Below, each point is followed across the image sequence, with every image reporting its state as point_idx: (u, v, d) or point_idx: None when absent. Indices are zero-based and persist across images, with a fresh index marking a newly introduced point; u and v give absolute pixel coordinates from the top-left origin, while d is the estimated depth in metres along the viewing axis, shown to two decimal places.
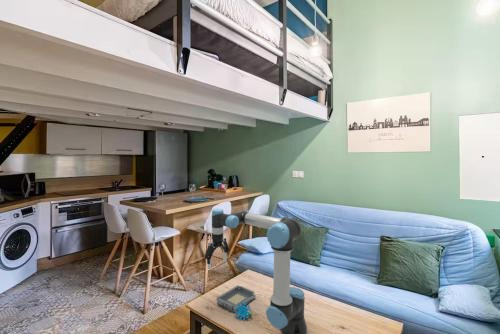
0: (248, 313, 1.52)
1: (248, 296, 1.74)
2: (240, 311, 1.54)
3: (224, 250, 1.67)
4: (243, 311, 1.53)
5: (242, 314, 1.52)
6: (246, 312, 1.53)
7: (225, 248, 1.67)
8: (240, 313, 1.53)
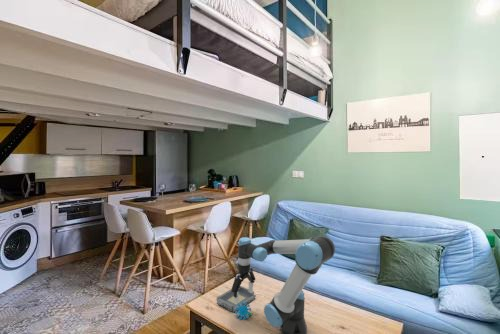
0: (248, 313, 1.52)
1: (248, 296, 1.74)
2: (240, 311, 1.54)
3: (250, 280, 1.58)
4: (243, 311, 1.53)
5: (242, 314, 1.52)
6: (246, 312, 1.53)
7: (251, 278, 1.57)
8: (240, 313, 1.53)
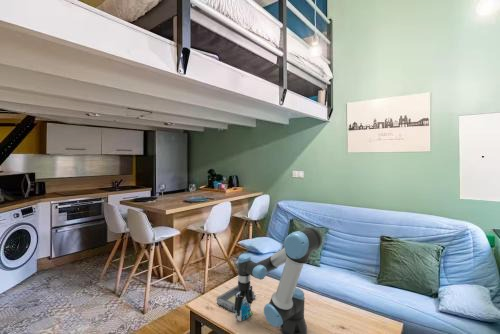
0: (248, 313, 1.52)
1: None
2: None
3: (248, 300, 1.57)
4: (243, 311, 1.53)
5: (242, 314, 1.52)
6: (246, 312, 1.53)
7: (250, 298, 1.56)
8: None
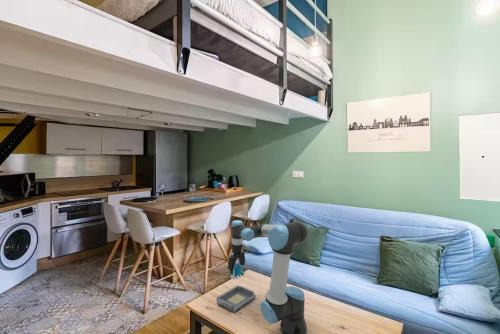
0: (240, 272, 1.69)
1: (248, 296, 1.74)
2: None
3: (240, 262, 1.73)
4: (236, 271, 1.70)
5: (235, 273, 1.69)
6: (238, 272, 1.69)
7: (242, 260, 1.73)
8: None
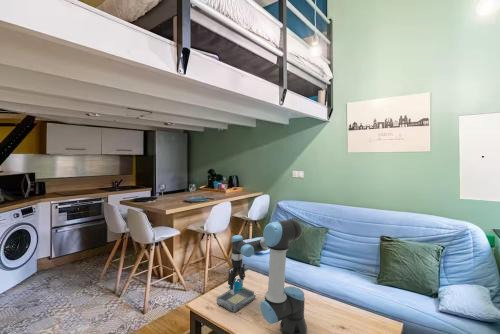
0: (240, 287, 1.69)
1: (248, 296, 1.74)
2: None
3: (240, 277, 1.74)
4: (236, 286, 1.70)
5: (235, 288, 1.70)
6: (238, 286, 1.70)
7: (242, 275, 1.73)
8: None
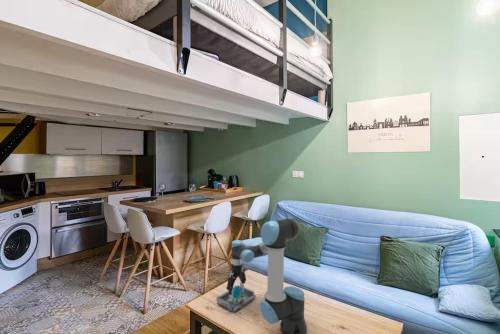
0: (240, 295, 1.69)
1: (248, 296, 1.74)
2: (233, 293, 1.71)
3: (241, 280, 1.74)
4: (236, 293, 1.70)
5: (235, 296, 1.70)
6: (238, 294, 1.70)
7: (243, 279, 1.74)
8: (233, 295, 1.70)
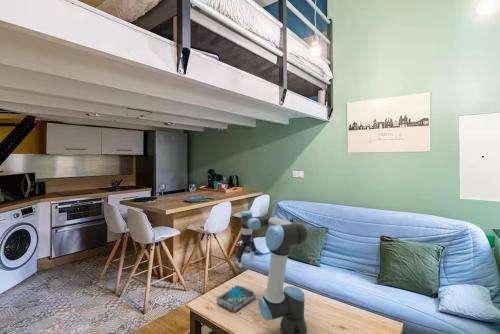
0: (240, 295, 1.69)
1: (248, 296, 1.74)
2: (233, 293, 1.71)
3: (251, 249, 1.79)
4: (236, 293, 1.70)
5: (235, 295, 1.70)
6: (238, 294, 1.70)
7: (253, 247, 1.78)
8: (233, 295, 1.70)
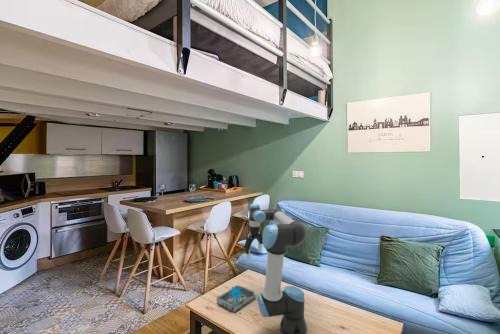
0: (240, 295, 1.69)
1: (248, 296, 1.74)
2: (233, 293, 1.71)
3: (259, 242, 1.83)
4: (236, 293, 1.70)
5: (235, 295, 1.70)
6: (238, 294, 1.70)
7: (260, 240, 1.82)
8: (233, 295, 1.70)
